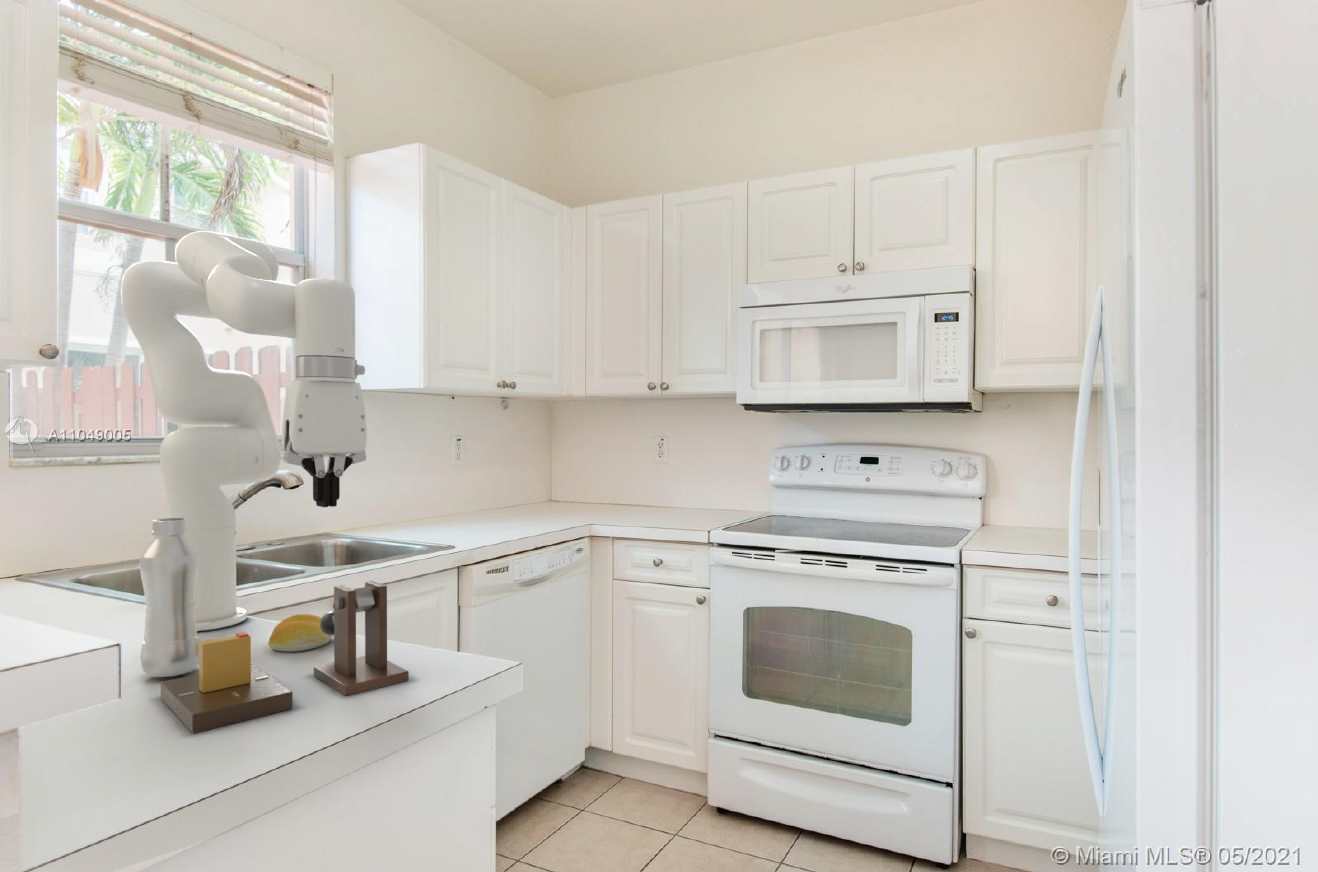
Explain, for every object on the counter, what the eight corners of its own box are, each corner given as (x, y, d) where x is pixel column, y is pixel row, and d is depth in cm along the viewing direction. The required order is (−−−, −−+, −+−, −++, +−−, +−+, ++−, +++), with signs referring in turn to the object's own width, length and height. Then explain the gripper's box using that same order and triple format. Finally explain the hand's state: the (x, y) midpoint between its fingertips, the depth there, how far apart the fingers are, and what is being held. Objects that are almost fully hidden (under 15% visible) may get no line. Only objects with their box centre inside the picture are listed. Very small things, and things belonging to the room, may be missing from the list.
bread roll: (266, 655, 107) (266, 627, 107) (274, 638, 116) (273, 612, 116) (330, 649, 110) (330, 622, 110) (333, 633, 119) (333, 607, 119)
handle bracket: (313, 675, 99) (313, 584, 99) (374, 662, 105) (374, 575, 104) (345, 695, 92) (345, 597, 92) (408, 680, 97) (408, 587, 97)
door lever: (319, 640, 104) (314, 617, 105) (342, 635, 106) (338, 613, 107) (354, 610, 95) (349, 586, 96) (379, 606, 98) (374, 582, 99)
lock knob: (202, 693, 87) (202, 642, 87) (199, 689, 88) (198, 639, 88) (251, 682, 90) (250, 633, 90) (246, 679, 91) (246, 631, 91)
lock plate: (160, 698, 91) (160, 680, 91) (252, 679, 98) (252, 662, 98) (192, 733, 81) (192, 712, 81) (292, 708, 88) (292, 689, 88)
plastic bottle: (173, 685, 95) (171, 523, 95) (127, 681, 97) (125, 522, 96) (213, 668, 102) (212, 517, 101) (169, 665, 103) (168, 515, 103)
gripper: (367, 375, 113) (368, 500, 114) (257, 370, 103) (258, 508, 103) (390, 373, 108) (391, 504, 108) (277, 367, 97) (277, 512, 98)
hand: (326, 505), depth 106 cm, fingers closed
